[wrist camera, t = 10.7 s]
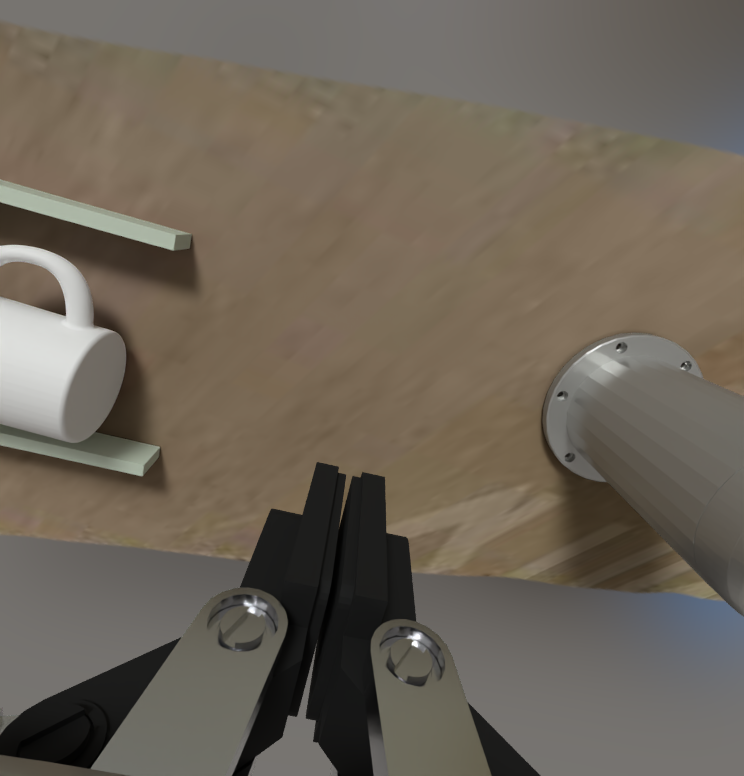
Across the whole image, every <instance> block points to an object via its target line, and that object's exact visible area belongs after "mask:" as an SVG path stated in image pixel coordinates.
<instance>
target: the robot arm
mask: <svg viewBox="0 0 744 776" xmlns="http://www.w3.org/2000/svg"><path fill="white" fill-rule="evenodd" d="M617 345H618V346H617ZM616 346H617V347H616ZM559 392H561V393H560V394H559V395H558V393H559ZM542 422H543V429H544V435H545V438H546V440H547V443H548V446H549V447H550V449H551V450H552V452H553V453H554V455H555V456H556V457H557V459H558V460H559V461H560V462H561V463H562V464H563V465H564V466H565V467H567V468H568V469H569V470H570V471H572V472H573V473H575V474H577V475H579V476H581V477H583V478H585V479H589V480H593V481H598V482H608V483H609V484H610V485H611V486H612V487H613V488H614V489H615V490H616V491H617V492H618V493H619V494H620V495H621V496H622V497H623V498H624V500H625V501H626V502H627V503H628V504H629V505H630V506H631V507H632V508H633V509H634V510H635V511H636V512H637V513H638V514H639V515H640V516H641V517H642V518H643V519H644V520H645V521H646V522H647V523H648V524H649V525H650V526H651V527H652V528H653V529H654V530H655V531H656V532H657V533H658V534H659V535H660V536H661V537H662V538H663V539H664V540H665V541H666V542H667V543H668V544H669V545H670V546H671V547H672V548H673V549H674V550H675V551H676V552H677V553H678V554H679V555H680V556H681V557H682V558H683V559H684V560H685V561H686V562H687V563H688V564H689V565H690V566H691V567H692V568H693V570H694V571H695V572H696V573H697V574H698V575H699V576H700V577H701V578H702V579H703V580H704V581H705V582H706V583H707V584H708V585H709V586H710V587H712V588H713V589H714V590H715V591H716V592H717V593H718V594H719V595H720V596H721V597H722V598H723V599H724V600H725V601H726V602H727V603H728V604H729V605H730V606H731V607H732V608H734V609H735V610H736V611H737V612H738V613H740V614H741V615H742V616H744V396H742V395H739V394H737V393H735V392H732V391H730V390H728V389H726V388H723V387H721V386H719V385H716V384H714V383H712V382H710V381H707V380H705V379H703V375H702V372H701V370H700V368H699V366H698V364H697V362H696V361H695V360H694V359H693V357H692V356H691V355H690V354H689V353H688V351H686V350H685V349H683V348H682V347H681V346H679V345H678V344H676V343H674V342H672V341H670V340H667V339H665V338H662V337H659V336H655V335H652V334H647V333H625V334H617V335H614V336H611V337H607V338H604V339H601V340H599V341H597V342H595V343H593V344H591V345H589V346H587V347H586V348H585V349H583V350H582V351H580V352H579V353H578V354H576V355H575V356H574V357H573V358H572V359H571V360H570V361H569V362H568V363H567V364H566V365H565V366H564V367H563V368H562V369H561V371H560V372H559V373H558V375H557V376H556V377H555V379H554V380H553V383H552V385H551V387H550V389H549V391H548V393H547V396H546V400H545V403H544V407H543V419H542ZM338 469H339V467H337V466H333V465H328V464H324V463H319V462H317V464H316V468H315V471H314V475H313V479H312V482H311V486H310V490H309V493H308V497H307V501H306V504H305V508H304V512H303V515H300V514H295V513H290V512H286V511H281V510H276V509H271V510H270V513H269V515H268V518H267V520H266V523H265V525H264V528H263V530H262V533H261V535H260V538H259V540H258V543H257V546H256V548H255V551H254V553H253V556H252V558H251V561H250V563H249V566H248V568H247V571H246V574H245V576H244V578H243V581H242V584H241V586H240V588H234V589H230V590H226V591H223V592H221V593H219V594H217V595H216V596H214V597H212V598H211V599H210V600H209V601H208V602H207V603H206V604H205V605H204V606H203V607H202V609H201V610H200V612H199V613H198V614H197V616H196V617H195V619H194V620H193V622H192V623H191V625H190V626H189V627H188V629H187V630H186V632H185V633H184V635H183V636H182V637H181V638H179V639H176V640H174V641H172V642H170V643H168V644H165V645H163V646H161V647H159V648H157V649H155V650H152V651H150V652H148V653H146V654H143V655H141V656H139V657H137V658H135V659H133V660H130V661H128V662H126V663H124V664H122V665H119V666H117V667H115V668H113V669H111V670H109V671H107V672H104V673H102V674H100V675H98V676H95V677H93V678H91V679H89V680H86V681H84V682H82V683H80V684H78V685H76V686H73V687H71V688H69V689H67V690H64V691H62V692H60V693H58V694H56V695H53V696H52V697H49V698H47V699H45V700H43V701H41V702H39V703H38V704H36V705H34V706H32V707H31V708H29V709H27V710H26V711H24V712H23V713H22V714H21V715H15V716H3V715H2V714H3V713H2V708H0V776H251V775H252V773H253V770H254V767H255V763H256V759H257V755H259V754H260V753H261V752H262V751H264V750H265V749H267V748H268V747H269V746H271V745H272V744H274V743H275V742H276V741H278V740H279V739H280V738H282V736H283V732H284V728H285V725H286V720H287V717H288V715H290V716H295V717H296V716H297V715H298V711H299V707H300V703H301V700H302V696H303V692H304V688H305V685H306V681H307V677H308V673H309V670H310V666H311V662H312V658H313V654H314V651H315V647H316V652H315V660H314V666H313V672H312V679H311V685H310V693H309V699H308V705H307V712H306V719H311V720H316V724H315V732H314V740H313V742H318V743H319V745H320V747H321V748H322V750H323V751H324V753H325V754H326V755H327V757H328V758H329V759H330V761H331V763H332V766H331V773H330V776H540V775H539V774H538V773H537V772H536V771H535V770H534V769H533V768H532V767H531V766H530V765H529V764H528V763H527V762H526V761H525V760H524V759H523V758H522V757H521V756H520V755H519V754H518V753H517V752H516V751H515V750H514V749H513V748H512V747H511V746H510V745H509V744H508V743H507V742H506V741H505V739H504V738H503V737H502V736H501V735H499V734H498V733H497V732H496V730H495V729H494V728H493V727H492V726H491V725H490V724H489V723H487V721H486V720H485V719H484V718H483V717H482V716H481V715H480V714H479V713H478V712H477V711H476V710H475V709H474V708H473V707H472V706H471V705H470V704H469V703H468V702H467V699H466V697H465V693H464V690H463V688H462V684H461V681H460V678H459V675H458V672H457V669H456V666H455V663H454V660H453V657H452V655H451V653H450V651H449V649H448V647H447V645H446V644H445V643H444V641H443V640H442V639H441V638H440V637H439V635H438V634H436V633H435V632H434V631H432V630H431V629H430V628H428V627H426V626H425V625H422V624H420V623H418V622H416V614H415V605H414V594H413V583H412V573H411V563H410V552H409V543H408V539H407V538H406V537H402V536H398V535H393V534H388V533H386V502H385V477H382V476H378V475H373V474H369V473H364V472H363V473H362V475H361V478H359V477H355V476H353V477H352V480H351V484H350V488H349V492H348V496H347V500H346V504H345V507H344V511H343V515H342V519H341V523H340V516H341V509H342V502H343V494H344V487H345V480H346V474H341V473H338ZM339 524H340V527H339ZM316 643H317V646H316Z"/></svg>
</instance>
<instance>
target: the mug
mask: <svg viewBox="0 0 744 776" xmlns="http://www.w3.org/2000/svg"><path fill="white" fill-rule="evenodd" d="M9 262H27V263H31V264H35V265H38V266H41V267H43V268H45V269H47V270H48V271H50V272H51V273H52V274H53V275H54V276H55V277H56V279H57V280H58V282H59V283H60V285H61V288H62V290H63V294H64V298H65V304H66V316H63V315H60V314H56V313H53V312H50V311H47V310H43V309H40V308H37V307H33V306H30V305H27V304H24V303H20V302H17V301H14V300H11V299H7V298H4V297H1V296H0V424H2V425H6V426H10V427H13V428H17V429H21V430H25V431H28V432H32V433H36V434H39V435H43V436H47V437H51V438H54V439H58V440H62V441H65V442H69V443H78V442H81V441H83V440H85V439H87V438H88V437H90V436H91V435H92V434H93V433H94V432H95V431H96V430H97V429H98V428H99V427H100V426H101V424H102V423H103V422H104V420H105V419H106V417H107V416H108V414H109V413H110V411H111V409H112V407H113V405H114V403H115V401H116V399H117V396H118V394H119V391H120V388H121V385H122V382H123V378H124V373H125V367H126V348H125V344H124V341H123V339H122V337H121V336H120V335H119V334H118V333H117V332H115V331H112V330H109V329H106V328H102V327H99V326H96V325H94V324H93V320H94V310H93V300H92V295H91V291H90V288H89V286H88V284H87V282H86V280H85V278H84V276H83V275H82V274H81V272H80V271H79V270H78V269H77V268H76V267H75V266H74V265H73V264H72V263H70V262H69V261H67V260H66V259H64V258H63V257H61V256H59V255H57V254H55V253H52V252H50V251H47V250H44V249H40V248H36V247H31V246H24V245H4V246H0V267H1V266H2V265H4V264H6V263H9Z"/></svg>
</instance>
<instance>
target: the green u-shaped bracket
mask: <svg viewBox="0 0 744 776" xmlns="http://www.w3.org/2000/svg"><path fill="white" fill-rule="evenodd" d="M0 202H1V203H5V204H9V205H12V206H16V207H19V208H23V209H26V210H30V211H34V212H37V213H41V214H44V215H48V216H51V217H55V218H59V219H62V220H66V221H69V222H73V223H76V224H80V225H84V226H87V227H91V228H94V229H98V230H101V231H105V232H109V233H112V234H116V235H119V236H123V237H126V238H130V239H134V240H137V241H141V242H144V243H148V244H151V245H155V246H159V247H162V248H166V249H169V250H173V251H175V250H183V249H190V243H191V237H192V234H189V233H186V232H182V231H179V230H175V229H172V228H168V227H165V226H161V225H158V224H154V223H151V222H147V221H144V220H140V219H137V218H133V217H130V216H126V215H123V214H119V213H116V212H112V211H109V210H105V209H102V208H98V207H95V206H91V205H88V204H84V203H81V202H77V201H74V200H70V199H67V198H63V197H60V196H56V195H53V194H49V193H46V192H42V191H39V190H35V189H32V188H28V187H25V186H21V185H18V184H14V183H11V182H7V181H4V180H0ZM0 445H2V446H6V447H11V448H16V449H20V450H25V451H29V452H34V453H38V454H43V455H47V456H52V457H57V458H61V459H66V460H70V461H75V462H79V463H84V464H88V465H93V466H97V467H102V468H107V469H111V470H116V471H120V472H125V473H129V474H134V475H138V476H143V475H144V474H145V473H146V472H147V471H148V469H149V468H150V467H151V466H152V465H153V464H154V463H155V461H156V460H157V459H158V458H159V453H160V447H158V446H154V445H150V444H145V443H141V442H137V441H132V440H128V439H123V438H119V437H115V436H110V435H106V434H102V433H97V432H94V433H93V434H92V435H91V436H90V437H88V438H87V439H85V440H83V441H81V442H78V443H69V442H65V441H62V440H58V439H54V438H51V437H47V436H43V435H39V434H36V433H32V432H28V431H25V430H21V429H17V428H13V427H10V426H6V425H2V424H0Z"/></svg>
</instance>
